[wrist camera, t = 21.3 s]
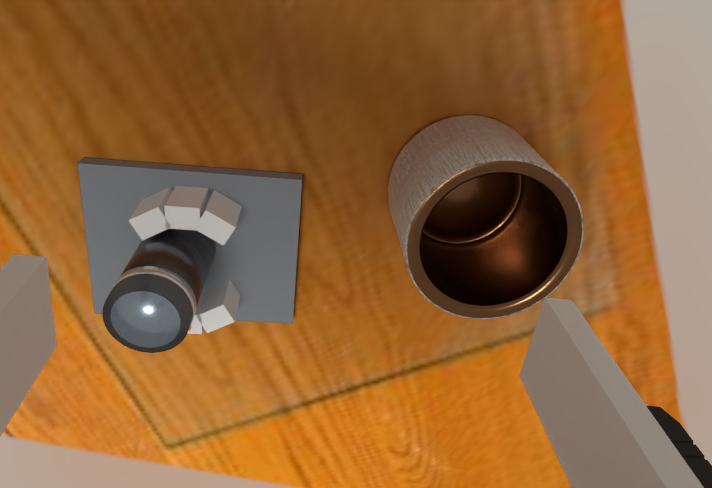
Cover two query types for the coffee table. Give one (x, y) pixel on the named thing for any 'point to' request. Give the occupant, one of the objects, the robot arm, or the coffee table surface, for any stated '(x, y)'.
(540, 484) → the coffee table surface
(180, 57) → the coffee table surface
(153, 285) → the lens
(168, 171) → the mount
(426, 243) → the planter
